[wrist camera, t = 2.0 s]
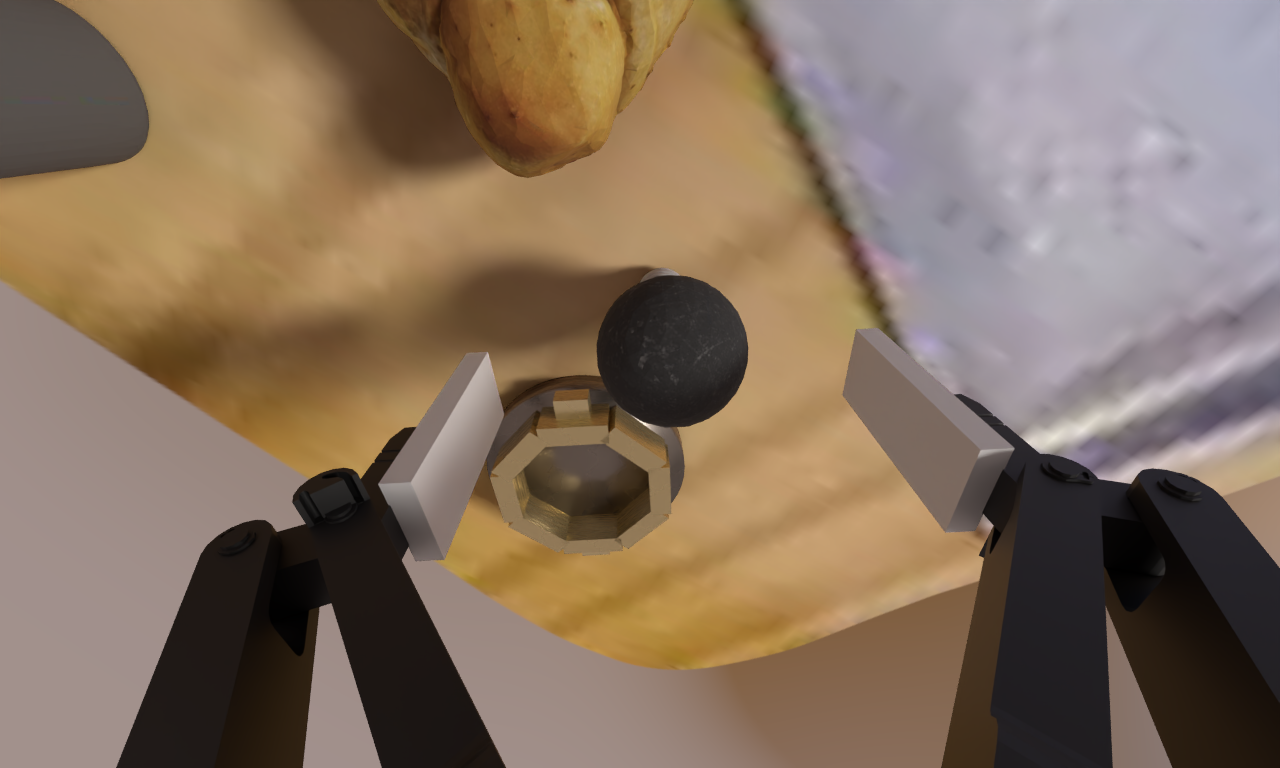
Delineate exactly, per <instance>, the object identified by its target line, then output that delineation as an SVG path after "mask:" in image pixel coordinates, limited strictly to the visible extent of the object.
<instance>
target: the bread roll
mask: <svg viewBox="0 0 1280 768" xmlns="http://www.w3.org/2000/svg"><path fill="white" fill-rule="evenodd" d="M376 1H377V2H378V4H379V5H380V7H381V8H382V9H383V11H384V12H385V13H386V14H387V16H388V17H389V18H390V19H391V21H392V22H393V23H394V24H395V26H396V27H398V28H399V29H400V30H401V31H402V32H403V33H404V34H406V35H407V36H409V37H410V38H411V39H412V41H413V42H414V44H415V45H416V47H417V48H418V49H419V50H420V51H421V52H422V54H423V55H424V56H425V57H426V58H427V59H428V60H429V61H430V62H431V63H432V64H433V65H434V66H435V67H436V68H438V69H439V70H440V71H441V72H443V73H444V75H445V76H446V78H447V79H448V81H449V82H450V84H451V87H452V89H453V93H454V99H455V103H456V105H457V107H458V109H459V111H460V113H461V115H462V118H463V120H464V122H465V124H466V126H467V128H468V130H469V132H470V133H471V135H472V136H473V138H474V139H475V140H476V142H477V143H478V144H479V145H480V146H481V148H482V149H483V150H484V151H485V153H486V154H487V155H488V156H489V157H490V158H491V159H492V160H493V161H494V162H495V163H496V164H497V165H499V166H500V167H502V168H503V169H505V170H507V171H508V172H510V173H512V174H514V175H516V176H520V177H527V178H529V177H534V176H539V175H543V174H546V173H548V172H551V171H554V170H557V169H559V168H562V167H563V166H564V165H566V164H568V163H571V162H574V161H576V160H577V159H580V158H583V157H586V156H589V155H591V154H592V153H593V152H596V151H598V150H600V148H601V147H602V146H603V144H604V143H605V142H606V140H607V139H608V136H609V133H610V131H611V128H612V124H613V121H614V118H615V116H616V115H617V114H619V113H620V112H622V111H623V110H624V109H625V108H626V107H627V106H628V105H629V104H630V102H631V101H632V100H633V98H634V97H635V96H636V94H637V93H638V92H639V91H640V90H641V89H642V87H643V85H644V83H645V81H646V79H647V77H648V75H649V74H650V73H651V72H652V71H653V66H654V64H655V62H656V61H657V60H658V58H659V57H660V56H661V55H662V53H663V52H664V51H665V50H666V49H667V48H668V47H670V45H671V42H672V40H673V37H674V34H675V32H676V31H677V29H678V27H679V25H680V24H681V23H682V22H683V21H684V20H685V18H686V15H687V12H688V11H689V9H690V7H691V6H692V4H693V0H376Z"/></svg>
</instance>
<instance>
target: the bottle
mask: <svg viewBox="0 0 1280 768" xmlns="http://www.w3.org/2000/svg"><path fill="white" fill-rule="evenodd" d="M148 129H149V118H148V110H147V107H146V103H145V100H144V96H143V93H142V91H141V89H140V87H139V85H138V82H137V80H136V78H135V76H134V75H133V73H132V72H131V70H130V69H129V67H128V65H127V64H126V62H125V61H124V59H123V58H122V57H121V56H120V55H119V53H118V52H117V51H116V50H115V49H114V47H113V46H112V45H111V44H110V43H109V41H108V40H107V39H106V38H105V37H104V36H103V35H102V34H101V33H100V32H99V31H98V30H96V29H95V28H94V27H93V26H92V25H91V24H89V23H88V22H87V21H86V20H85V19H83V18H82V17H80V16H79V15H78V14H76V13H75V12H74V11H72V10H71V9H69V8H67V7H66V6H64V5H62V4H60V3H58V2H56V1H54V0H0V179H1V178H8V177H16V176H24V175H31V174H39V173H47V172H54V171H62V170H70V169H78V168H85V167H93V166H99V165H106V164H112V163H118V162H121V161H125V160H127V159H129V158H131V157H133V156H134V155H136V154H137V153H138V152H139V151H140V150H141V149H142V148H143V146H144V144H145V142H146V140H147V135H148Z"/></svg>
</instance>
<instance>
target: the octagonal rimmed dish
mask: <svg viewBox="0 0 1280 768" xmlns="http://www.w3.org/2000/svg"><path fill="white" fill-rule="evenodd" d="M684 467H685V466H684V456H683V449H682V442H681V438H680V434H679V431H678V429H677V427H669V428H664V427H660V426H656V425H652V424H648V423H644V422H642V421H640V420H639V419H637V418H635V417H634V416H632V415H630V414H629V413H627V412H626V411H624V410H623V409H622V408H621V407H620V406H619V405H618V404H617V403H616V402H615V400H614V399H613V398H612V397H611V396H610V394H609V393H608V391H607V389H606V387H605V385H604V383H603V380H602V378H601V377H597V376H569V377H562V378H557V379H553V380H549V381H546V382H544V383H541V384H538V385H536V386H534V387H532V388H530V389H528V390H527V391H525V392H524V393H522V394H521V395H520V396H518V397H517V398H516V399H515V400H514V401H513V402H512V403H510V404H509V405H508V407H507V408H506V409H505V411H504V417H503V419H502V422H501V424H500V426H499V429H498V431H497V434H496V436H495V438H494V441H493V443H492V446H491V448H490V451H489V453H488V455H487V469H488V473H489V477H490V480H491V482H492V485H493V489H494V492H495V495H496V498H497V501H498V504H499V507H500V510H501V514H502V517H503V520H504V523H508V522H510V523H509V526H508V527H510V528H512V529H514V530H516V531H518V532H519V533H521V534H523V535H525V536H527V537H529V538H531V539H533V540H535V541H537V542H539V543H541V544H543V545H545V546H547V547H549V548H550V549H552V550H554V551H556V552H559V551H561V550H562V549H564V554H570V553H582V554H583V556H586V555H606V554H610V551H623V546H624V547H626V548H628V549H629V548H630V547H632V546H633V545H634V544H635V543H637V542H638V541H639V540H641V539H642V538H643V537H645V536H646V535H647V534H649V533H650V532H651V531H653V530H654V529H655V528H657V527H658V526H659V525H661V524H662V523H663V522H665V521H666V520H667V519H669V515H668V514H671V503H672V502H673V500H674V499H675V497H676V496H677V494H678V492H679V490H680V487H681V485H682V481H683V477H684Z"/></svg>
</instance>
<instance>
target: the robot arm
mask: <svg viewBox="0 0 1280 768" xmlns="http://www.w3.org/2000/svg"><path fill="white" fill-rule="evenodd" d="M843 396H844V398H845V399H846V400H847V402H848V403H849V404H850V406H851V407H852V408H853V410H854V411H855V412H856V414H857V415H858V416H859V418H860V419H861V420H862V422H863V423H864V424H865V426H866V427H867V428H868V430H869V431H870V432H871V434H872V435H873V436H874V438H875V439H876V440H877V442H878V443H879V444H880V446H881V447H882V448H883V450H884V451H885V452H886V454H887V455H888V456H889V458H890V459H891V460H892V462H893V463H894V464H895V466H896V467H897V469H898V470H899V471H900V473H901V474H902V475H903V477H904V478H905V479H906V481H907V482H908V483H909V485H910V486H911V487H912V489H913V490H914V491H915V493H916V494H917V495H918V497H919V498H920V499H921V501H922V502H923V503H924V505H925V506H926V507H927V509H928V510H929V511H930V513H931V514H932V515H933V517H934V518H935V519H936V521H937V522H938V523H939V525H940V526H941V527H942V529H943V530H944V531H945V532H964V531H975V530H976V528H977V526H978V524H979V522H980V520H981V517H982V515H983V514H984V515H985V516H986V517H987V518H988V520H989V521H990V522H991V523H992V524H993V525H994V526H993V528H992V530H991V532H990V534H989V536H988V538H987V540H986V542H985V544H984V546H983V548H982V550H981V552H980V554H979V556H981V557H983V558H984V561H983V566H982V571H981V576H980V581H979V586H978V591H977V596H976V601H975V605H974V610H973V615H972V620H971V625H970V630H969V635H968V640H967V644H966V649H965V654H964V660H963V664H962V669H961V674H960V679H959V684H958V688H957V694H956V698H955V703H954V708H953V713H952V718H951V723H950V727H949V733H948V738H947V742H946V747H945V752H944V757H943V762H942V767H941V768H1113V766H1112V743H1111V720H1110V699H1109V676H1108V653H1107V631H1106V611H1105V610H1106V609H1105V605H1106V607H1107V610H1108V612H1109V615H1110V617H1111V619H1112V622H1113V624H1114V626H1115V629H1116V632H1117V634H1118V636H1119V639H1120V641H1121V644H1122V646H1123V649H1124V651H1125V654H1126V656H1127V658H1128V661H1129V663H1130V666H1131V668H1132V671H1133V673H1134V675H1135V678H1136V680H1137V683H1138V685H1139V687H1140V690H1141V692H1142V695H1143V697H1144V700H1145V702H1146V704H1147V707H1148V709H1149V712H1150V714H1151V717H1152V719H1153V722H1154V724H1155V726H1156V729H1157V731H1158V734H1159V736H1160V739H1161V741H1162V743H1163V746H1164V748H1165V751H1166V753H1167V756H1168V758H1169V760H1170V763H1171V765H1172V768H1280V568H1279V567H1278V566H1277V564H1276V563H1275V562H1274V560H1273V559H1272V558H1271V557H1270V556H1269V554H1268V553H1267V552H1266V550H1265V549H1264V548H1263V547H1262V546H1261V544H1260V543H1259V542H1258V541H1257V539H1256V538H1255V537H1254V536H1253V534H1252V533H1251V532H1250V531H1249V530H1248V528H1247V527H1246V526H1245V525H1244V523H1243V522H1242V521H1241V520H1240V519H1239V517H1238V516H1237V515H1236V513H1235V512H1234V511H1233V510H1232V509H1231V507H1230V506H1229V505H1228V504H1227V502H1226V501H1225V500H1224V499H1223V497H1221V496H1220V495H1219V494H1218V493H1217V492H1216V491H1215V490H1214V489H1212V488H1210V487H1209V486H1207V485H1205V484H1203V483H1202V482H1200V481H1199V480H1197V479H1195V478H1192V477H1188V476H1187V475H1184V474H1182V473H1176V472H1172V471H1168V470H1162V469H1146V470H1142V471H1141V472H1140V473H1139V474H1138V475H1137V477H1136V478H1135V479H1134V481H1133V482H1132V484H1127V483H1121V482H1114V481H1107V480H1100V479H1098V478H1097V477H1096V476H1095V475H1094V474H1093V473H1092V472H1091V471H1090V470H1089V469H1087V468H1086V467H1084V466H1082V465H1080V464H1079V463H1077V462H1074V461H1072V460H1069V459H1067V458H1064V457H1060V456H1055V455H1051V454H1040V453H1038V452H1037V451H1036V450H1035V449H1034V448H1032V447H1031V446H1030V445H1029V444H1028V443H1026V442H1025V441H1024V440H1023V439H1022V438H1020V437H1019V436H1018V435H1017V434H1016V433H1014V432H1013V431H1012V430H1011V429H1010V428H1008V427H1007V426H1006V425H1005V426H1004V425H1003V422H1001V421H1000V420H999V419H998V418H997V417H995V416H993V414H992V413H991V412H989V411H988V410H987V409H986V408H985V407H983V406H982V405H981V404H980V403H978V402H976V401H974V400H972V399H970V398H968V397H966V396H964V395H962V394H955V395H953V394H952V393H951V392H950V391H949V390H948V389H947V388H946V387H944V386H943V385H942V384H941V383H940V382H939V381H938V380H936V379H935V378H934V377H933V376H932V375H931V374H930V373H928V372H927V371H926V370H925V369H924V368H923V367H922V366H920V365H919V364H918V363H917V362H916V361H915V360H914V359H912V358H911V357H910V356H909V355H908V354H907V353H906V352H904V351H903V350H902V349H901V348H900V347H899V346H898V345H896V344H895V343H894V342H893V341H892V340H891V339H890V338H888V337H887V336H886V335H885V334H884V333H883V332H882V331H880V330H879V329H878V328H873V329H856V332H855V337H854V342H853V347H852V352H851V356H850V361H849V366H848V371H847V376H846V381H845V385H844V390H843ZM503 417H504V412H503V408H502V404H501V400H500V396H499V393H498V389H497V385H496V381H495V377H494V373H493V370H492V366H491V362H490V358H489V354H488V352H476V353H466V355H465V356H464V358H463V359H462V361H461V362H460V364H459V365H458V367H457V368H456V370H455V371H454V373H453V374H452V376H451V377H450V378H449V380H448V381H447V383H446V384H445V386H444V387H443V389H442V390H441V392H440V393H439V395H438V396H437V398H436V399H435V401H434V402H433V404H432V405H431V407H430V408H429V410H428V411H427V413H426V414H425V416H424V417H423V418H422V420H421V421H420V423H419V424H418V426H417V427H409V428H404V429H402V430H401V431H400V432H399V433H397V434H396V435H395V436H393V437H392V438H391V439H390V440H389V441H388V443H387V444H386V445H385V447H384V448H383V449H382V453H380V454H379V455H378V456H377V458H376V459H375V460H374V461H375V463H372V464H371V466H370V467H369V469H368V470H367V471H366V473H365V474H364V475H363V477H362V478H361V480H360V478H359V476H358V474H357V473H356V472H355V471H354V470H353V469H348V468H339V469H332V470H329V471H326V472H323V473H320V474H318V475H317V476H315V477H313V478H311V479H309V480H308V481H306V482H305V483H304V484H303V485H302V486H300V487H299V488H298V490H297V491H296V492H295V494H294V495H293V504H294V505H295V507H296V509H297V511H298V512H299V514H300V515H301V517H302V518H303V520H304V521H305V523H306V524H304V525H301V526H297V527H294V528H290V529H286V530H283V531H279V532H276V531H275V529H274V528H273V526H272V525H271V524H270V523H269V522H267V521H265V520H253V521H249V522H244V523H242V524H239V525H237V526H234V527H232V528H230V529H228V530H226V531H225V532H223V533H221V534H220V535H218V536H217V537H216V538H215V539H214V540H212V541H211V542H210V543H209V544H208V545H207V546H206V547H205V549H204V551H203V552H202V553H201V555H200V558H199V560H198V563H197V565H196V568H195V570H194V573H193V575H192V578H191V580H190V583H189V586H188V588H187V591H186V593H185V596H184V598H183V601H182V603H181V606H180V608H179V611H178V613H177V616H176V619H175V621H174V624H173V626H172V628H171V631H170V634H169V636H168V638H167V641H166V643H165V646H164V649H163V651H162V654H161V656H160V659H159V661H158V664H157V666H156V669H155V671H154V674H153V676H152V679H151V682H150V684H149V686H148V689H147V691H146V694H145V697H144V699H143V701H142V704H141V707H140V709H139V712H138V714H137V717H136V720H135V722H134V724H133V727H132V729H131V732H130V735H129V737H128V739H127V742H126V744H125V747H124V750H123V752H122V754H121V757H120V760H119V762H118V765H117V767H116V768H303V759H304V750H305V741H306V731H307V721H308V711H309V703H310V693H311V683H312V674H313V664H314V655H315V645H316V636H317V626H318V617H319V607H321V606H324V605H327V604H330V603H332V606H333V609H334V612H335V616H336V619H337V622H338V625H339V629H340V632H341V635H342V639H343V642H344V645H345V649H346V652H347V655H348V658H349V662H350V665H351V668H352V671H353V675H354V678H355V681H356V685H357V688H358V691H359V694H360V697H361V701H362V704H363V707H364V711H365V714H366V717H367V720H368V724H369V727H370V730H371V734H372V737H373V740H374V743H375V747H376V750H377V753H378V756H379V760H380V763H381V766H382V768H506V767H505V764H504V763H503V761H502V759H501V757H500V755H499V753H498V751H497V749H496V747H495V745H494V743H493V741H492V739H491V737H490V735H489V733H488V731H487V729H486V727H485V725H484V723H483V721H482V719H481V717H480V715H479V713H478V711H477V709H476V707H475V705H474V703H473V701H472V699H471V697H470V695H469V693H468V691H467V689H466V687H465V685H464V683H463V681H462V679H461V677H460V675H459V673H458V671H457V669H456V667H455V665H454V663H453V661H452V659H451V657H450V655H449V653H448V651H447V649H446V647H445V645H444V643H443V642H442V640H441V637H440V636H439V634H438V632H437V629H436V628H435V626H434V624H433V622H432V620H431V618H430V616H429V614H428V612H427V610H426V608H425V606H424V604H423V602H422V600H421V598H420V596H419V594H418V592H417V590H416V588H415V586H414V584H413V582H412V580H411V578H410V576H409V574H408V572H407V570H406V568H405V566H404V564H403V562H402V558H403V556H404V554H405V552H406V550H407V549H408V547H409V549H410V551H411V553H412V555H413V557H414V559H415V561H429V560H444V559H445V557H446V554H447V552H448V550H449V547H450V545H451V542H452V540H453V538H454V535H455V533H456V530H457V528H458V525H459V523H460V521H461V518H462V516H463V513H464V511H465V509H466V506H467V504H468V501H469V499H470V496H471V494H472V492H473V489H474V487H475V484H476V482H477V480H478V477H479V475H480V472H481V470H482V467H483V465H484V463H485V460H486V458H487V455H488V453H489V451H490V448H491V446H492V443H493V441H494V438H495V436H496V434H497V431H498V429H499V426H500V424H501V422H502V419H503Z"/></svg>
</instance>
